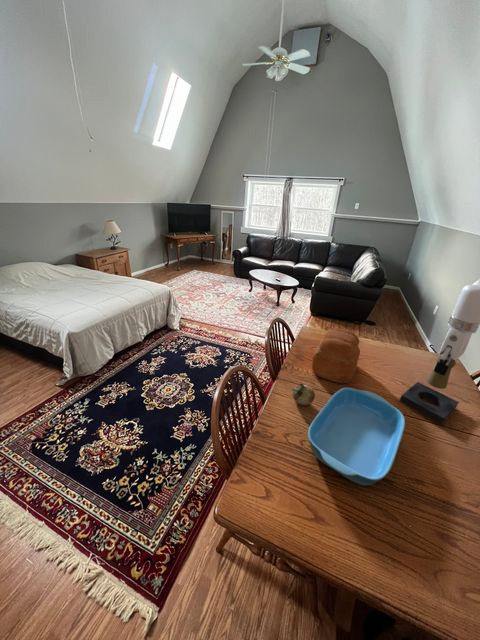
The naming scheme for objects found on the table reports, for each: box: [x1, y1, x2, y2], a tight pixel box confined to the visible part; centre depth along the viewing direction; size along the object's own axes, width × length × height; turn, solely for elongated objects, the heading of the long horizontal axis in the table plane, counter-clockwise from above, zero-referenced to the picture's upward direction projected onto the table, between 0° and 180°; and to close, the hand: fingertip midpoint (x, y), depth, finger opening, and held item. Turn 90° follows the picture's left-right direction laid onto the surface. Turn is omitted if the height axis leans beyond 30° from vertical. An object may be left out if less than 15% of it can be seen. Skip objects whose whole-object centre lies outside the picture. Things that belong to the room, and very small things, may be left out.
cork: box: [426, 354, 457, 390], centre depth 93 cm, size 6×6×11 cm
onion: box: [291, 382, 316, 406], centre depth 97 cm, size 8×8×8 cm
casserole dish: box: [307, 387, 406, 486], centre depth 82 cm, size 37×22×7 cm, turn 140°
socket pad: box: [399, 381, 460, 426], centre depth 99 cm, size 14×14×3 cm
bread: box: [311, 328, 361, 384], centre depth 115 cm, size 18×22×17 cm
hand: (442, 369), depth 93 cm, fingers closed on cork, 5 cm apart
